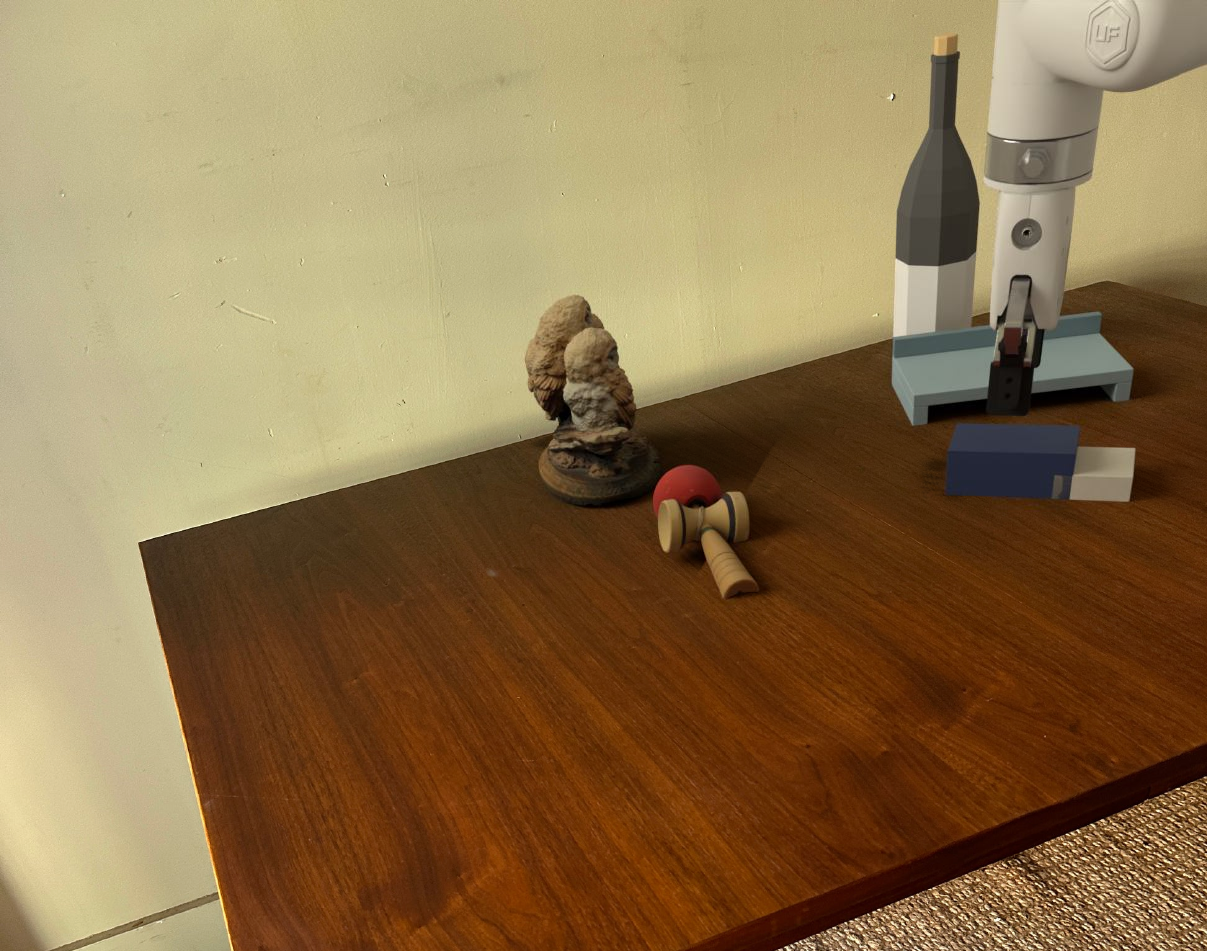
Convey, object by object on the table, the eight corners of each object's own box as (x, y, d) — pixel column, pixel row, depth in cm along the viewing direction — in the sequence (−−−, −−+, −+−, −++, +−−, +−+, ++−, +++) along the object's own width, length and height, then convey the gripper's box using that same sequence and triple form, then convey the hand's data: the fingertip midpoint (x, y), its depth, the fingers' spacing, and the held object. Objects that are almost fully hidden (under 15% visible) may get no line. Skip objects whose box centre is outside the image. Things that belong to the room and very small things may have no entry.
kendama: (797, 610, 95) (726, 494, 108) (785, 549, 91) (712, 434, 103) (707, 646, 96) (646, 525, 108) (690, 586, 91) (628, 467, 103)
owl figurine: (685, 496, 111) (668, 307, 100) (563, 524, 110) (533, 336, 99) (634, 429, 125) (614, 257, 114) (525, 453, 124) (495, 281, 113)
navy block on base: (1128, 488, 102) (1139, 425, 98) (1126, 520, 97) (1136, 456, 94) (936, 481, 107) (939, 421, 104) (925, 511, 103) (928, 450, 100)
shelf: (1090, 374, 121) (1099, 310, 117) (1126, 416, 113) (1137, 348, 109) (891, 398, 123) (892, 336, 119) (911, 441, 114) (914, 375, 110)
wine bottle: (934, 378, 125) (950, 44, 107) (876, 362, 131) (883, 42, 112) (985, 354, 129) (1010, 27, 110) (927, 340, 134) (942, 25, 115)
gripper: (1087, 188, 79) (1053, 436, 90) (1101, 125, 91) (1070, 350, 102) (969, 191, 81) (951, 432, 92) (998, 129, 93) (979, 349, 104)
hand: (1013, 389), depth 97 cm, fingers open, 9 cm apart
